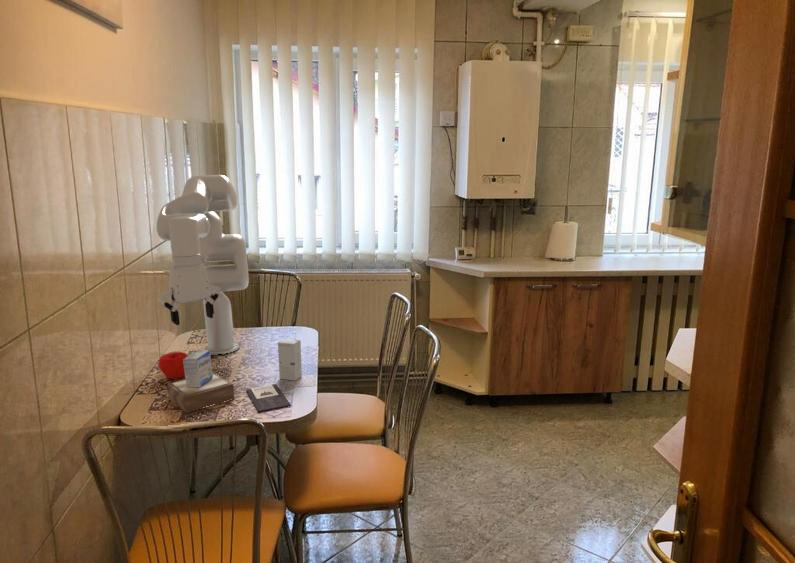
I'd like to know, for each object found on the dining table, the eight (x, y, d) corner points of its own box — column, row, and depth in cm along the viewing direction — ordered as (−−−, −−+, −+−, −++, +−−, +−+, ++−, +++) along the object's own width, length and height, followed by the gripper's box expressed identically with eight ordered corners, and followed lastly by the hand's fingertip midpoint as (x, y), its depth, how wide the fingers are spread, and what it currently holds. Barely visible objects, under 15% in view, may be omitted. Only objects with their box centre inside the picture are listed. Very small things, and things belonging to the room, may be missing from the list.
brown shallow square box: (169, 399, 175) (167, 383, 174) (215, 386, 183) (213, 371, 182) (186, 413, 164) (185, 396, 163) (234, 399, 173) (233, 383, 172)
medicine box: (200, 388, 169) (197, 359, 167) (185, 387, 169) (182, 358, 168) (213, 378, 176) (210, 350, 174) (199, 377, 177) (196, 349, 175)
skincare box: (279, 379, 188) (276, 342, 185) (286, 374, 192) (284, 338, 189) (296, 381, 186) (293, 343, 183) (303, 376, 190) (300, 339, 187)
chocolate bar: (258, 411, 163) (246, 389, 179) (258, 414, 163) (246, 392, 179) (290, 404, 166) (276, 383, 182) (291, 407, 166) (276, 386, 183)
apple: (158, 383, 187) (155, 360, 186) (164, 374, 196) (161, 351, 194) (187, 381, 189) (185, 357, 187) (192, 371, 197) (190, 349, 196)
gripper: (211, 255, 174) (217, 312, 177) (150, 264, 163) (158, 324, 167) (222, 258, 168) (227, 317, 172) (160, 267, 157) (167, 329, 161)
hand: (193, 320), depth 169 cm, fingers open, 9 cm apart
